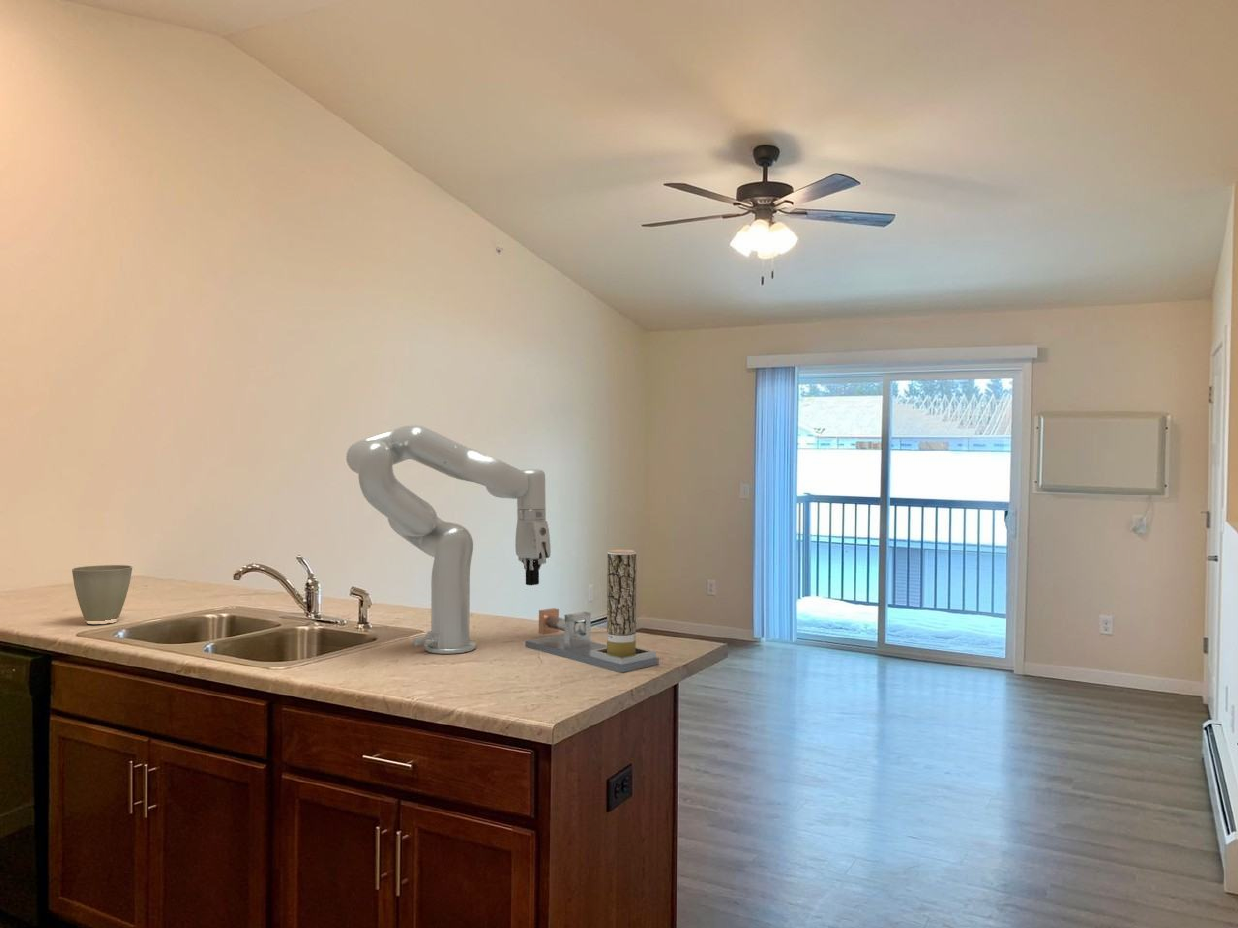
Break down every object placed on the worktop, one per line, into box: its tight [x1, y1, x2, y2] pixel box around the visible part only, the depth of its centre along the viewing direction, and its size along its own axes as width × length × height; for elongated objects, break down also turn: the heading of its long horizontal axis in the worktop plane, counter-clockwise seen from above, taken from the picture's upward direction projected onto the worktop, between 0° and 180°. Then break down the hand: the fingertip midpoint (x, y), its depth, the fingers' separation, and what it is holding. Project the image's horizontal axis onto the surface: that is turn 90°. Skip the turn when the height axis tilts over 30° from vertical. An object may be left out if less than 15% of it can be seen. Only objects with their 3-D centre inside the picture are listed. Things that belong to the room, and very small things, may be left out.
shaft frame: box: [524, 611, 660, 674], centre depth 210 cm, size 12×36×10 cm, turn 43°
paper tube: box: [606, 549, 637, 657], centre depth 201 cm, size 7×7×25 cm
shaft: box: [538, 607, 586, 636], centre depth 217 cm, size 5×14×6 cm, turn 43°
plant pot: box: [71, 564, 133, 622], centre depth 245 cm, size 15×15×16 cm
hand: (532, 584), depth 228 cm, fingers closed
